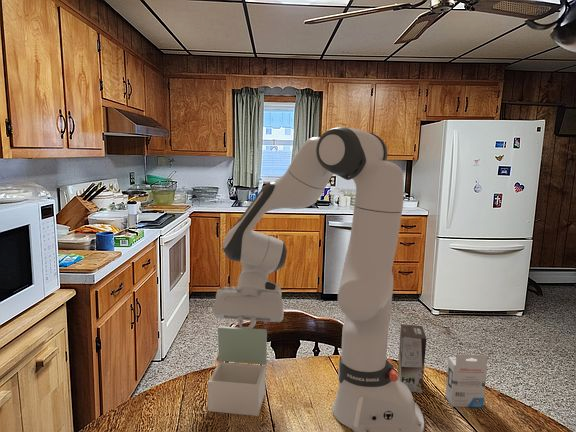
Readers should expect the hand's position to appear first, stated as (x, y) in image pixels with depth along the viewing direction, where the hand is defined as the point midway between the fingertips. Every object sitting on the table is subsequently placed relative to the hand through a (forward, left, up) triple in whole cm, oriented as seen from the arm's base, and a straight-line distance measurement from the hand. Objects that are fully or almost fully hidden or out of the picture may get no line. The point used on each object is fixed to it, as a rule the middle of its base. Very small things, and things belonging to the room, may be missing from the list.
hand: (244, 334), depth 110 cm
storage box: (0, +7, -16) cm, 17 cm away
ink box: (-60, -2, -16) cm, 62 cm away
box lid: (0, +2, -2) cm, 3 cm away
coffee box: (-47, -9, -16) cm, 50 cm away
